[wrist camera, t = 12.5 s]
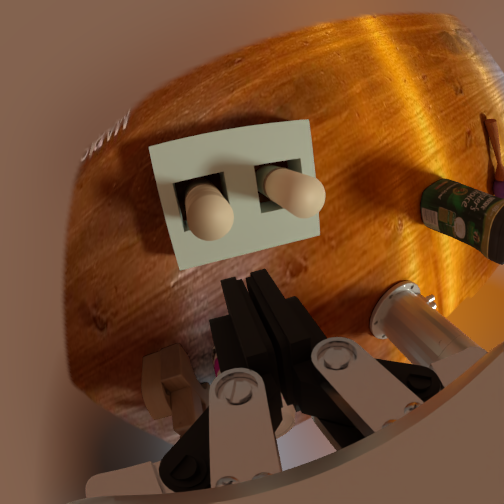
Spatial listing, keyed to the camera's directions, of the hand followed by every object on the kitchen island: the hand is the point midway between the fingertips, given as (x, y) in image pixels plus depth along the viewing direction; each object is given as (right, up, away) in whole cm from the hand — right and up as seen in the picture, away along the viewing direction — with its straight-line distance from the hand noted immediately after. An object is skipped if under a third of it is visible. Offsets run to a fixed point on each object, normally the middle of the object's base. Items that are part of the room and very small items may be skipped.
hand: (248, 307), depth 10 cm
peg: (-6, +8, +19) cm, 22 cm away
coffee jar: (+32, +11, +29) cm, 44 cm away
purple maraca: (+55, +23, +31) cm, 67 cm away
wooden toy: (-11, -18, +30) cm, 37 cm away
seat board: (-2, +9, +20) cm, 22 cm away
